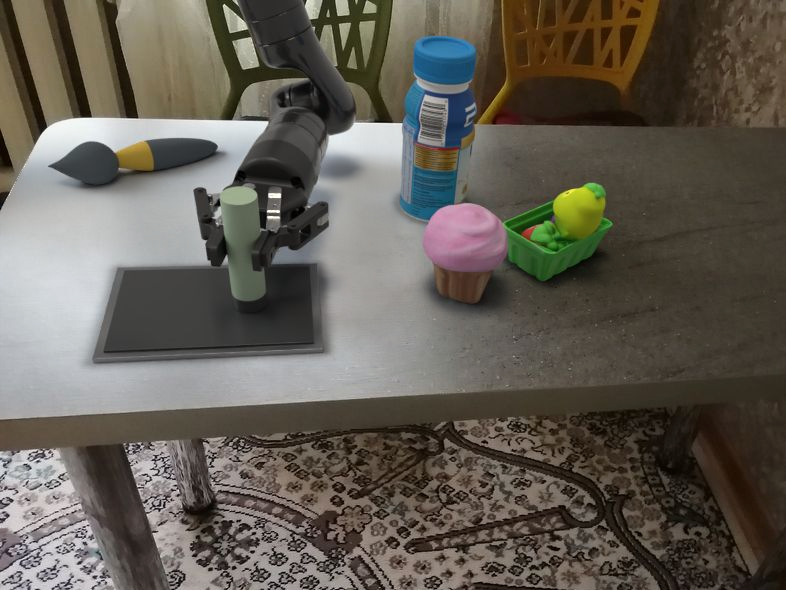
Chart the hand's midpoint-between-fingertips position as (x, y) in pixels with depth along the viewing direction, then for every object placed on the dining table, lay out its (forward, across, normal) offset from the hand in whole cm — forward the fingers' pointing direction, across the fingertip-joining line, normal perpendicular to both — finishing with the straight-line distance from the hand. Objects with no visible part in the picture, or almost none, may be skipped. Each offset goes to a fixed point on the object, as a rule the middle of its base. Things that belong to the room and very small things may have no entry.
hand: (235, 260), depth 66 cm
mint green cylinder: (-3, 0, +7) cm, 8 cm away
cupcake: (-10, +20, +8) cm, 24 cm away
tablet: (-2, -3, +8) cm, 9 cm away
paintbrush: (-28, -20, +8) cm, 36 cm away
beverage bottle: (-27, +16, +8) cm, 32 cm away
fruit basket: (-18, +31, +8) cm, 37 cm away
